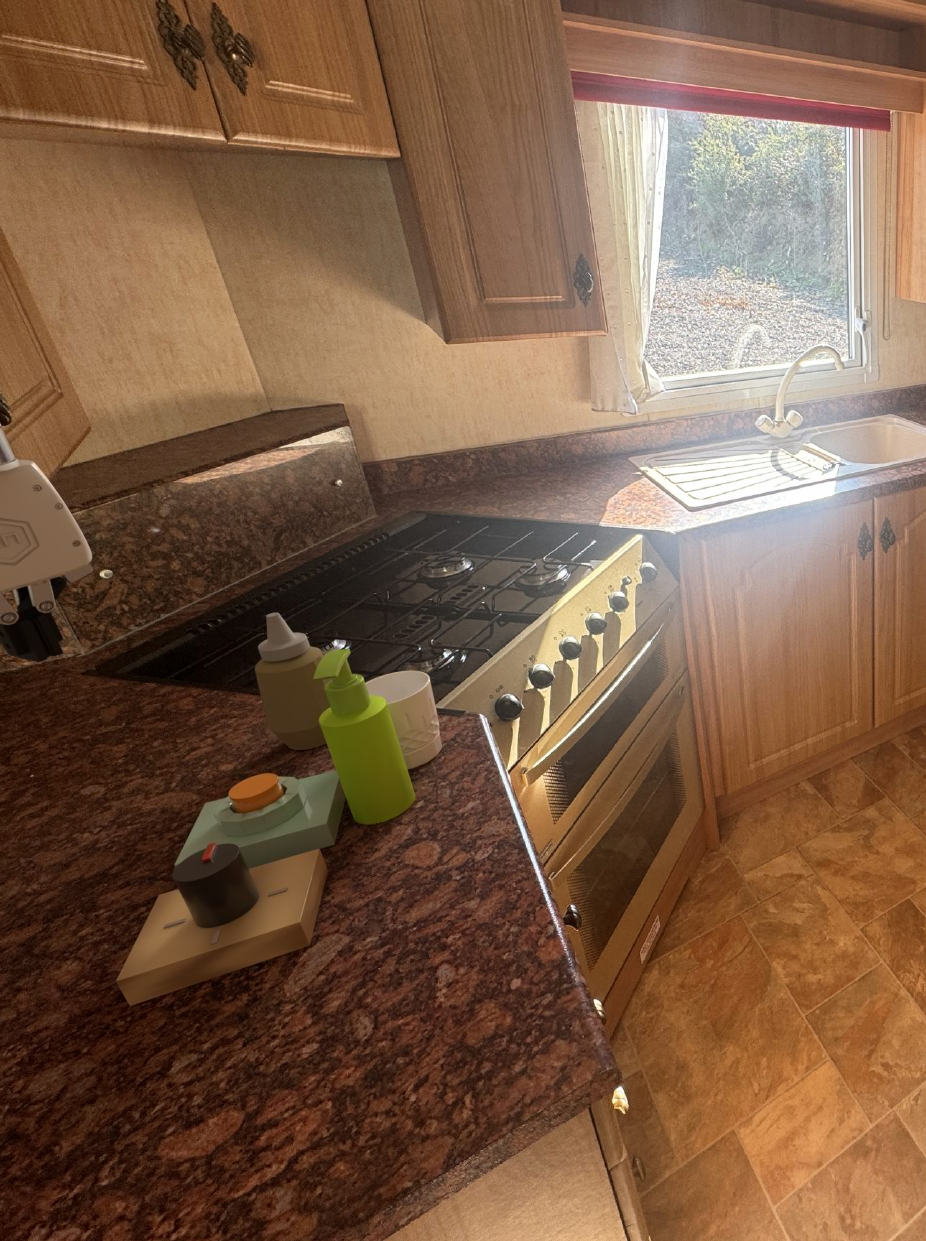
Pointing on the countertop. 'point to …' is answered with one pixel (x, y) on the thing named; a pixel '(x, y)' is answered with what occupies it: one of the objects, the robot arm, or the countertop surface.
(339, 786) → the green button base
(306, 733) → the squeeze bottle
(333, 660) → the soap dispenser
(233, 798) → the orange arcade button
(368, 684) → the white cup
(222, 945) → the dial panel
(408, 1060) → the countertop surface
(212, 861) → the dial
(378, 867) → the countertop surface
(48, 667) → the countertop surface
